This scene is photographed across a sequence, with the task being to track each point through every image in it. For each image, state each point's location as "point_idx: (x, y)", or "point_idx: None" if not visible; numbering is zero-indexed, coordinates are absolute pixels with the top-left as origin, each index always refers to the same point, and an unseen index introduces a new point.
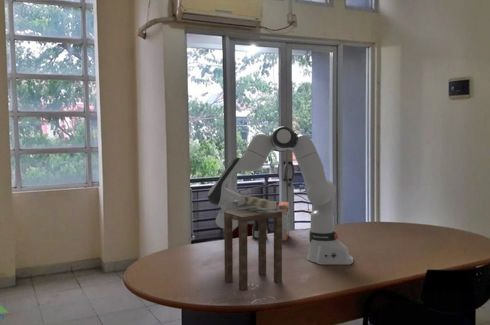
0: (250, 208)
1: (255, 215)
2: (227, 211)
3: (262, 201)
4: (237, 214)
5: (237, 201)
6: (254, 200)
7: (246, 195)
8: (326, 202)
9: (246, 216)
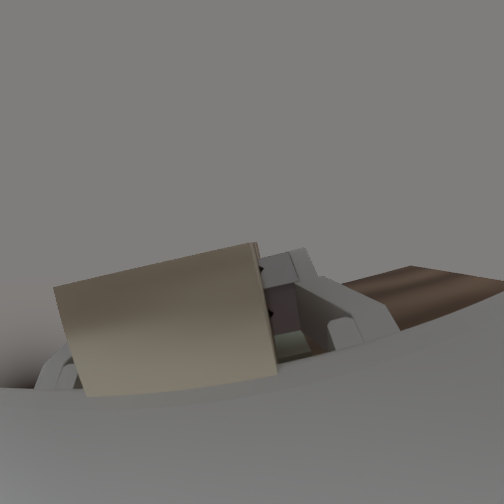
0: (281, 348)
1: (343, 283)
2: (501, 291)
3: (257, 246)
4: (428, 275)
5: (388, 342)
6: (258, 254)
7: (92, 278)
8: None
9: (389, 271)
